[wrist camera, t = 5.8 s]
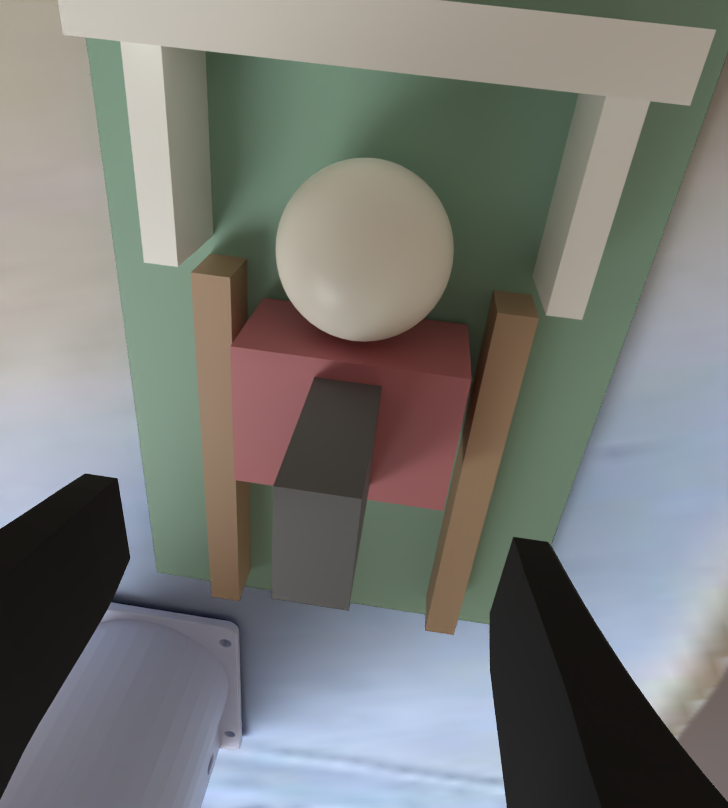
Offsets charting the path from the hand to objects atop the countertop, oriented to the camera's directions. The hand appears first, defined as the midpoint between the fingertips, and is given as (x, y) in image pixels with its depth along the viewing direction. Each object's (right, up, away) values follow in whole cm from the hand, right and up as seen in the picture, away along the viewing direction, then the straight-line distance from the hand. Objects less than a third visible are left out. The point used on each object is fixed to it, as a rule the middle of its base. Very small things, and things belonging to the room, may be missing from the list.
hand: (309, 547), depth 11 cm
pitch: (+1, +4, +7) cm, 8 cm away
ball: (+1, +6, +3) cm, 7 cm away
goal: (+2, +9, +4) cm, 10 cm away
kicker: (+1, +4, +7) cm, 8 cm away
